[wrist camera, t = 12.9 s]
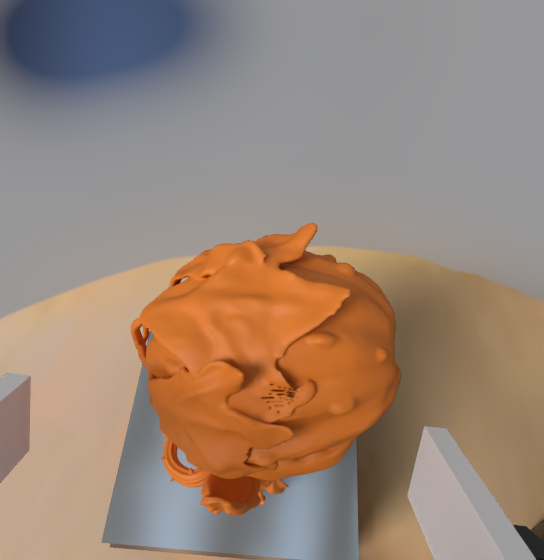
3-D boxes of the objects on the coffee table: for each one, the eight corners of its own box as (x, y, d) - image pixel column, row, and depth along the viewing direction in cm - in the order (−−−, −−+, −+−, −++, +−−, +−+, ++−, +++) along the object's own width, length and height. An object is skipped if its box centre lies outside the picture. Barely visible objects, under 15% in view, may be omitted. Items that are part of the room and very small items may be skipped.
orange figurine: (328, 535, 26) (490, 530, 11) (141, 509, 26) (23, 465, 10) (337, 354, 32) (450, 177, 16) (183, 331, 31) (148, 128, 16)
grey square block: (333, 366, 40) (358, 327, 33) (331, 564, 33) (364, 571, 25) (164, 347, 39) (152, 304, 32) (123, 546, 32) (94, 548, 25)
